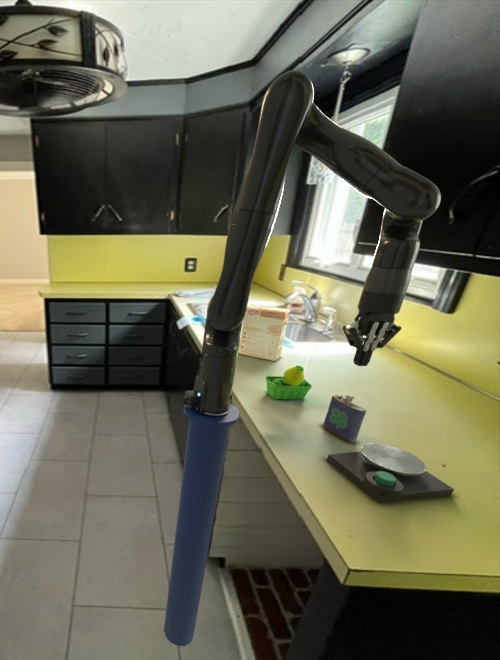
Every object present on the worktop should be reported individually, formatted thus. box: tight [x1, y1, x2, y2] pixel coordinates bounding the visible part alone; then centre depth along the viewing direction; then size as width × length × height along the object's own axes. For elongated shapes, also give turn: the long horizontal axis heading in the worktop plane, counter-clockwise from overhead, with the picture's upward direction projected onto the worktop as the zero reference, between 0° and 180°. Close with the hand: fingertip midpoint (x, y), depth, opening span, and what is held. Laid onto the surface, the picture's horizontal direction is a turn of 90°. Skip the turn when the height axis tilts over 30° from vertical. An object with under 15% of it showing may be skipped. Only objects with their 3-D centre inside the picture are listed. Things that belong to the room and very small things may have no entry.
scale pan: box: [360, 442, 427, 476], centre depth 77 cm, size 11×11×1 cm
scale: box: [326, 451, 455, 504], centre depth 76 cm, size 16×14×3 cm
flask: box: [322, 394, 367, 444], centre depth 90 cm, size 9×3×11 cm, turn 13°
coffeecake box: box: [238, 304, 291, 362], centre depth 144 cm, size 15×7×20 cm, turn 49°
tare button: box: [374, 471, 396, 487], centre depth 70 cm, size 3×3×2 cm
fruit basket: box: [265, 365, 313, 401], centre depth 110 cm, size 11×9×11 cm
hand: (360, 364), depth 84 cm, fingers closed
